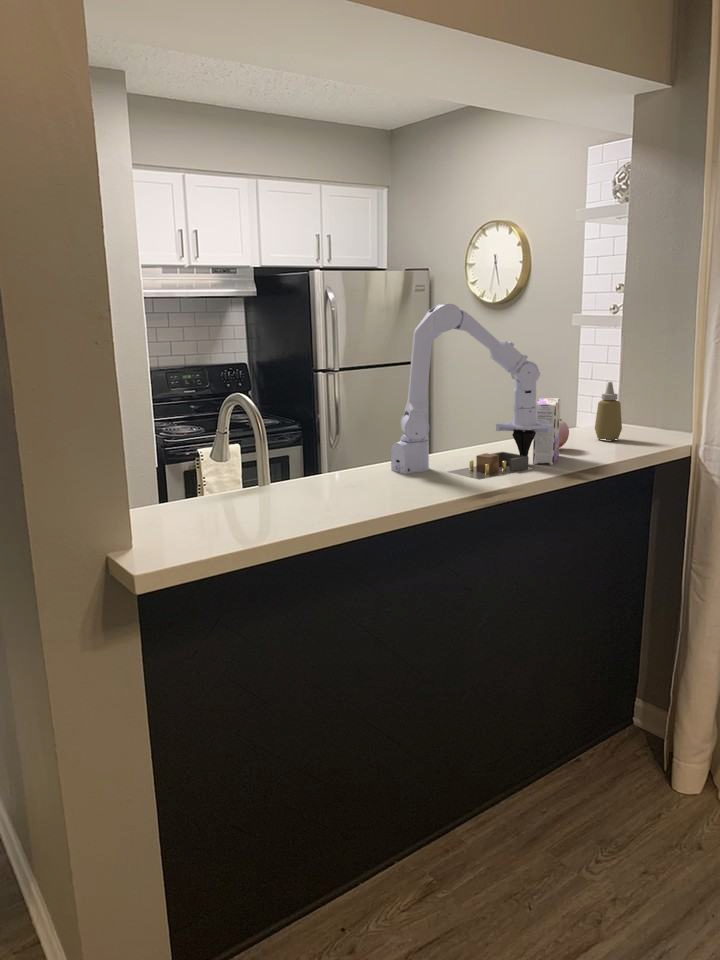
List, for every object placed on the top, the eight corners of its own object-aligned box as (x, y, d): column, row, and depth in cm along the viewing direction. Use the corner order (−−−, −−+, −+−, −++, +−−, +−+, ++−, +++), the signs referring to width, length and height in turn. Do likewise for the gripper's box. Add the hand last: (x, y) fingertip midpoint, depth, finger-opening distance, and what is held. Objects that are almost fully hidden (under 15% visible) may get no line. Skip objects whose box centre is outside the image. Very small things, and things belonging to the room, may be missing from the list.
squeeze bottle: (615, 437, 246) (618, 380, 242) (625, 441, 238) (628, 383, 234) (590, 438, 246) (592, 381, 242) (599, 442, 238) (602, 383, 234)
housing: (511, 471, 196) (512, 459, 195) (486, 465, 203) (486, 454, 203) (528, 468, 199) (528, 456, 198) (502, 462, 207) (503, 451, 206)
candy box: (538, 455, 222) (539, 397, 219) (559, 455, 220) (561, 397, 217) (532, 464, 209) (533, 403, 206) (554, 465, 208) (556, 403, 204)
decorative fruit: (540, 446, 235) (541, 413, 232) (568, 447, 233) (569, 413, 230) (539, 452, 226) (540, 418, 224) (568, 453, 224) (569, 418, 222)
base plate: (478, 484, 188) (478, 469, 188) (446, 476, 198) (446, 461, 197) (534, 473, 199) (534, 459, 198) (501, 466, 208) (501, 452, 208)
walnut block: (489, 473, 195) (489, 457, 194) (476, 471, 197) (476, 455, 197) (498, 470, 197) (498, 454, 197) (485, 468, 200) (485, 453, 199)
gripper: (493, 408, 201) (492, 460, 204) (549, 410, 195) (548, 463, 198) (500, 405, 207) (499, 455, 210) (555, 406, 201) (554, 458, 204)
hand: (523, 458), depth 204 cm, fingers closed
